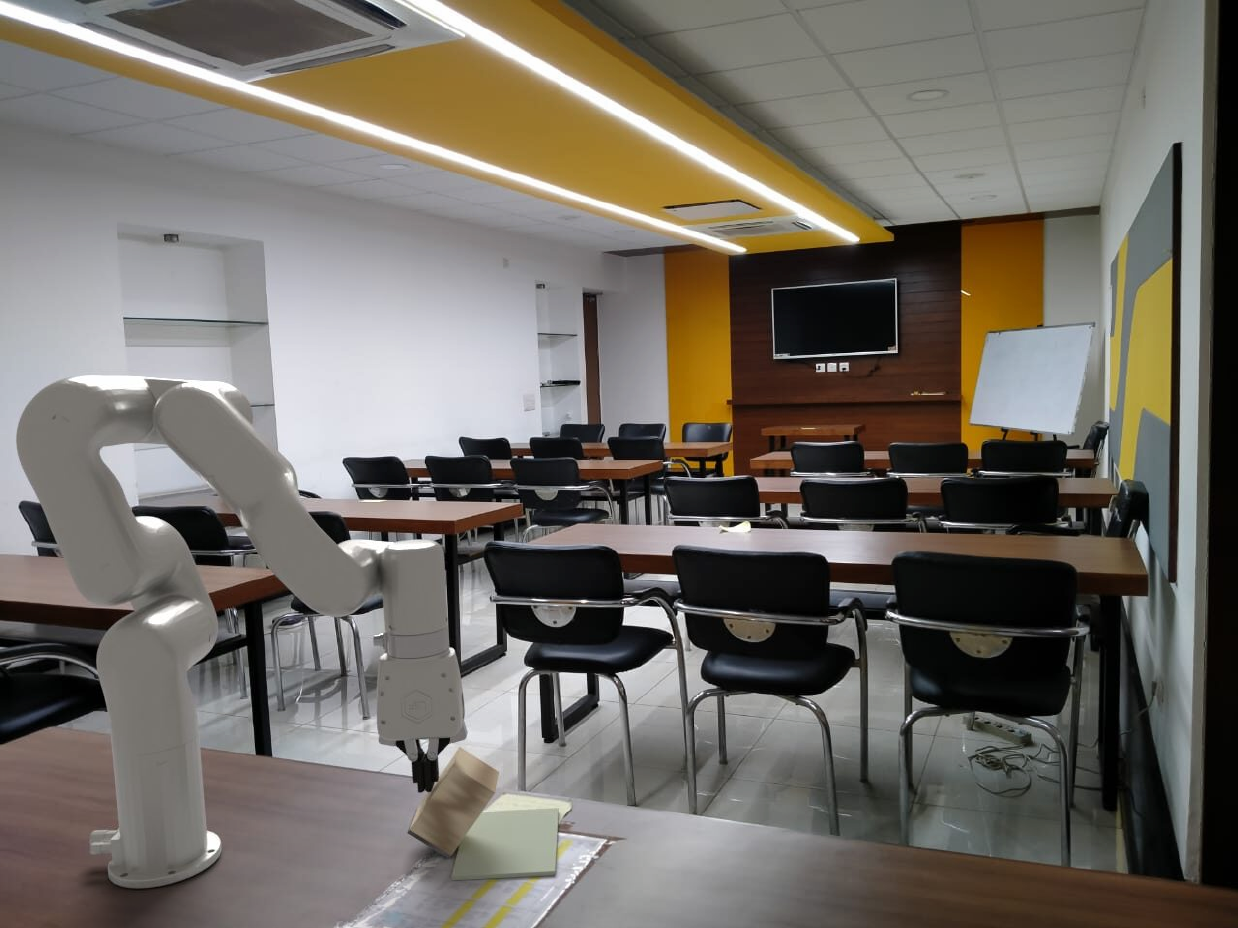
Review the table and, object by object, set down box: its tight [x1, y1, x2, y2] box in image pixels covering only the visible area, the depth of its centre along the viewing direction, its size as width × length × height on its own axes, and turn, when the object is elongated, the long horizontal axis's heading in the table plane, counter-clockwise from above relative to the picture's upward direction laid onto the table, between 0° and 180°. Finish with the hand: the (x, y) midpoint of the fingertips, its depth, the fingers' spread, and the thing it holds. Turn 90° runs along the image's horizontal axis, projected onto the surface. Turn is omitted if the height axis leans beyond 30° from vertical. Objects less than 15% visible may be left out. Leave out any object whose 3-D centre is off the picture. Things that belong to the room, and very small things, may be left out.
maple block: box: [406, 746, 500, 860], centre depth 117 cm, size 6×6×10 cm
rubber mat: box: [451, 807, 560, 881], centre depth 118 cm, size 12×16×1 cm
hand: (426, 787), depth 117 cm, fingers closed
